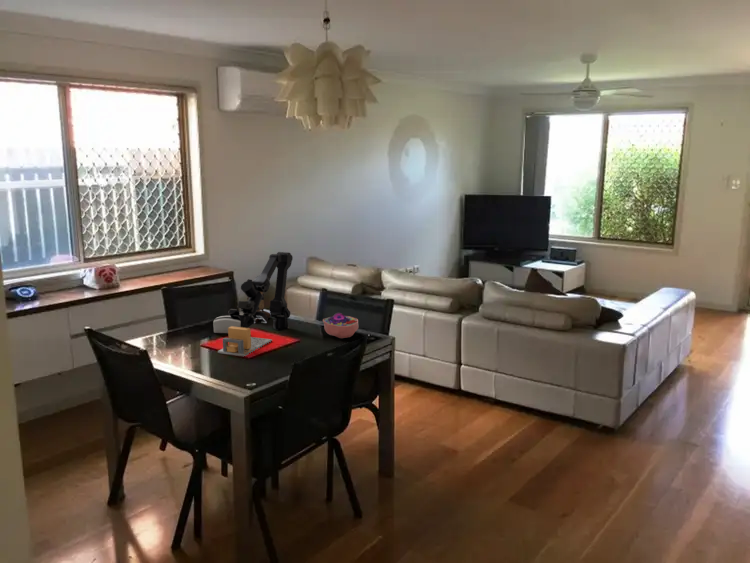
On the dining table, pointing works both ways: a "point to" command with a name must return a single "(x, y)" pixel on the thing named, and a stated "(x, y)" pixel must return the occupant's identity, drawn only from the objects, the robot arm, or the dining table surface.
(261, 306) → the brown round-based stand
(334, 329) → the cell model
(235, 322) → the grey napkin holder
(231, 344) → the tan chunky block
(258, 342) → the baseplate
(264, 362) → the dining table surface
